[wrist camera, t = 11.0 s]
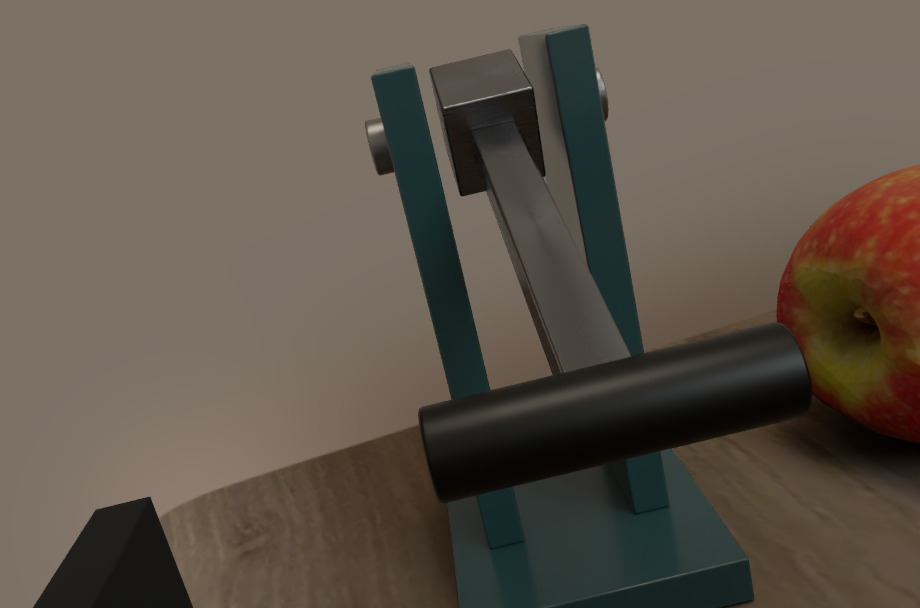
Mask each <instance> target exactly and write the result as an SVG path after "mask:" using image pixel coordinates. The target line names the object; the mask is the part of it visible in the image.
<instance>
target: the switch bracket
mask: <svg viewBox="0 0 920 608" xmlns="http://www.w3.org/2000/svg"><path fill="white" fill-rule="evenodd" d="M518 40H519V45H520V51H521V55H522V61H523V66H524V71H525V75H526V76H527V78H528V80H529V81H530V83H531V85H532V86H533V88H534V95H535V102H536V109H537V116H538V123H539V130H540V137H541V144H542V151H543V158H544V165H545V172H546V175H545V178H546V183H547V187H548V189H549V191H550V193H551V195H552V197H553V199H554V201H555V203H556V205H557V207H558V209H559V211H560V213H561V215H562V217H563V219H564V221H565V223H566V225H567V227H568V229H569V231H570V233H571V235H572V237H573V239H574V241H575V243H576V245H577V247H578V249H579V251H580V253H581V255H582V257H583V259H584V261H585V263H586V265H587V267H588V269H589V271H590V273H591V275H592V277H593V279H594V281H595V283H596V285H597V287H598V289H599V291H600V293H601V295H602V297H603V299H604V301H605V303H606V305H607V307H608V309H609V312H610V314H611V316H612V318H613V320H614V322H615V324H616V326H617V328H618V330H619V332H620V334H621V336H622V338H623V340H624V342H625V344H626V346H627V348H628V350H629V352H630V354H631V356H635V355H639V354H643V353H644V350H643V344H642V338H641V332H640V327H639V321H638V315H637V309H636V303H635V297H634V291H633V285H632V280H631V274H630V268H629V262H628V256H627V250H626V244H625V238H624V233H623V227H622V221H621V215H620V209H619V203H618V197H617V192H616V186H615V180H614V174H613V168H612V162H611V156H610V150H609V145H608V139H607V133H606V127H605V121H606V120H607V117H608V98H607V92H606V88H605V84H604V81H603V78H602V75H601V73H600V71H599V70H598V68H597V67H595V63H594V57H593V51H592V45H591V39H590V34H589V27H588V26H587V25H586V24H583V25H574V26H567V27H558V28H550V29H546V30H542V31H538V32H534V33H529V34H525V35H521V36H519V38H518ZM371 80H372V84H373V88H374V92H375V96H376V100H377V103H378V107H379V112H380V115H381V118H377V119H373V120H368V121H366V122H365V129H366V134H367V138H368V143H369V147H370V151H371V155H372V158H373V162H374V165H375V169H376V171H377V174H378V175H384V174H388V173H393V172H395V175H396V179H397V183H398V187H399V191H400V195H401V199H402V203H403V207H404V211H405V215H406V219H407V223H408V227H409V231H410V235H411V239H412V243H413V247H414V251H415V255H416V259H417V263H418V267H419V271H420V275H421V279H422V283H423V287H424V291H425V295H426V299H427V303H428V307H429V311H430V315H431V318H432V323H433V327H434V331H435V335H436V338H437V342H438V347H439V350H440V355H441V359H442V363H443V366H444V371H445V375H446V379H447V383H448V386H449V391H450V394H451V399H457V398H461V397H465V396H469V395H473V394H477V393H481V392H486V391H490V387H489V383H488V379H487V374H486V370H485V366H484V362H483V357H482V353H481V349H480V344H479V341H478V336H477V332H476V328H475V323H474V319H473V315H472V310H471V306H470V302H469V298H468V293H467V289H466V285H465V281H464V276H463V272H462V268H461V263H460V259H459V255H458V251H457V246H456V242H455V238H454V234H453V229H452V225H451V221H450V217H449V213H448V208H447V204H446V200H445V195H444V191H443V187H442V182H441V178H440V174H439V170H438V166H437V161H436V157H435V153H434V148H433V144H432V140H431V136H430V131H429V127H428V123H427V119H426V114H425V110H424V106H423V101H422V97H421V93H420V89H419V85H418V81H417V76H416V72H415V68H414V67H413V65H411V64H410V63H404V64H399V65H396V66H391V67H387V68H383V69H378V70H376V71H375V72H374V74H373V75H372V77H371ZM447 508H448V517H449V525H450V534H451V542H452V551H453V560H454V568H455V577H456V585H457V594H458V603H459V608H722V607H726V606H730V605H734V604H738V603H743V602H747V601H751V600H753V599H754V593H753V586H752V579H751V572H750V565H749V559H748V558H747V556H746V555H745V553H744V552H743V550H742V549H741V548H740V546H739V545H738V543H737V542H736V540H735V539H734V537H733V536H732V535H731V533H730V532H729V530H728V529H727V527H726V526H725V524H724V523H723V522H722V520H721V519H720V517H719V516H718V514H717V513H716V511H715V510H714V509H713V507H712V506H711V504H710V503H709V501H708V500H707V498H706V497H705V496H704V494H703V493H702V491H701V490H700V488H699V487H698V486H697V484H696V483H695V481H694V480H693V478H692V477H691V475H690V474H689V473H688V471H687V470H686V468H685V467H684V465H683V464H682V462H681V461H680V460H679V458H678V457H677V455H676V454H675V452H674V451H673V449H672V448H671V449H667V450H663V451H659V452H655V453H650V454H646V455H642V456H638V457H634V458H630V459H626V460H621V461H617V462H613V463H609V464H605V465H601V466H597V467H593V468H588V469H584V470H580V471H576V472H572V473H568V474H564V475H559V476H555V477H551V478H547V479H543V480H539V481H535V482H530V483H526V484H522V485H518V486H514V487H510V488H506V489H501V490H497V491H493V492H489V493H485V494H481V495H477V496H472V497H468V498H464V499H460V500H456V501H452V502H448V503H447Z"/></svg>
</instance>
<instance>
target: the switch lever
mask: <svg viewBox="0 0 920 608" xmlns="http://www.w3.org/2000/svg"><path fill="white" fill-rule="evenodd" d="M429 73H430V78H431V82H432V86H433V91H434V96H435V100H436V105H437V110H438V113H439V118H440V123H441V128H442V132H443V137H444V141H445V146H446V150H447V154H448V157H449V160H450V163H451V167H452V170H453V173H454V177H455V180H456V183H457V186H458V190H459V193H460V195H461V196H466V195H470V194H474V193H478V192H483V191H486V192H487V195H488V197H489V200H490V203H491V206H492V208H493V211H494V214H495V217H496V219H497V222H498V225H499V228H500V231H501V233H502V236H503V239H504V241H505V244H506V247H507V250H508V253H509V255H510V258H511V261H512V264H513V266H514V269H515V272H516V274H517V277H518V280H519V283H520V286H521V288H522V291H523V294H524V296H525V299H526V302H527V305H528V308H529V310H530V313H531V316H532V318H533V322H534V324H535V327H536V330H537V332H538V335H539V338H540V341H541V343H542V346H543V349H544V352H545V355H546V357H547V360H548V363H549V366H550V368H551V371H552V374H553V375H552V376H548V377H544V378H540V379H536V380H532V381H527V382H523V383H519V384H515V385H511V386H506V387H503V388H498V389H494V390H490V391H486V392H481V393H477V394H473V395H469V396H465V397H461V398H457V399H452V400H449V401H444V402H440V403H436V404H432V405H427V406H423V407H421V408H420V409H419V412H418V418H419V426H420V432H421V437H422V442H423V447H424V452H425V456H426V461H427V465H428V469H429V473H430V477H431V480H432V484H433V487H434V491H435V493H436V496H437V498H438V500H439V501H440V503H448V502H452V501H456V500H460V499H464V498H468V497H472V496H477V495H481V494H485V493H489V492H493V491H497V490H501V489H506V488H510V487H514V486H518V485H522V484H526V483H530V482H535V481H539V480H543V479H547V478H551V477H555V476H559V475H564V474H568V473H572V472H576V471H580V470H584V469H588V468H593V467H597V466H601V465H605V464H609V463H613V462H617V461H621V460H626V459H630V458H634V457H638V456H642V455H646V454H650V453H655V452H659V451H663V450H667V449H671V448H675V447H679V446H684V445H688V444H692V443H696V442H700V441H704V440H708V439H713V438H717V437H721V436H725V435H729V434H733V433H737V432H742V431H746V430H750V429H754V428H758V427H762V426H766V425H771V424H775V423H779V422H783V421H787V420H791V419H795V418H800V417H803V416H805V415H806V414H807V413H808V412H809V410H810V408H811V404H812V384H811V378H810V373H809V369H808V366H807V362H806V359H805V357H804V354H803V352H802V350H801V347H800V345H799V344H798V342H797V340H796V338H795V337H794V335H793V334H792V332H791V331H790V330H789V329H788V328H787V327H786V326H785V325H783V324H781V323H777V322H772V323H768V324H764V325H760V326H756V327H751V328H747V329H743V330H739V331H735V332H731V333H726V334H722V335H718V336H714V337H710V338H706V339H702V340H697V341H693V342H689V343H685V344H681V345H677V346H672V347H668V348H664V349H660V350H656V351H652V352H648V353H643V354H639V355H635V356H631V354H630V352H629V350H628V348H627V346H626V344H625V342H624V340H623V338H622V336H621V334H620V332H619V330H618V328H617V326H616V324H615V322H614V320H613V318H612V316H611V314H610V312H609V309H608V307H607V305H606V303H605V301H604V299H603V297H602V295H601V293H600V291H599V289H598V287H597V285H596V283H595V281H594V279H593V277H592V275H591V273H590V271H589V269H588V267H587V265H586V263H585V261H584V259H583V257H582V255H581V253H580V251H579V249H578V247H577V245H576V243H575V241H574V239H573V237H572V235H571V233H570V231H569V229H568V227H567V225H566V223H565V221H564V219H563V217H562V215H561V213H560V211H559V209H558V207H557V205H556V203H555V201H554V199H553V197H552V195H551V193H550V191H549V189H548V187H547V185H546V183H545V181H544V179H543V177H545V175H546V172H545V165H544V158H543V151H542V144H541V137H540V130H539V123H538V116H537V109H536V102H535V95H534V88H533V86H532V85H531V83H530V81H529V80H528V78H527V76H526V75H525V73H524V71H523V70H522V68H521V66H520V64H519V63H518V61H517V59H516V58H515V56H514V54H513V53H512V51H511V50H509V49H508V50H504V51H500V52H496V53H492V54H487V55H483V56H479V57H475V58H471V59H466V60H462V61H458V62H454V63H449V64H445V65H442V66H437V67H433V68H430V69H429Z"/></svg>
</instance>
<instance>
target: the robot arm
mask: <svg viewBox="0 0 920 608" xmlns="http://www.w3.org/2000/svg"><path fill="white" fill-rule="evenodd" d="M33 608H193V606H192V604H191V601H190V598H189V596H188V593H187V591H186V588H185V586H184V583H183V580H182V578H181V575H180V573H179V570H178V567H177V565H176V562H175V560H174V557H173V555H172V552H171V549H170V547H169V544H168V542H167V539H166V536H165V534H164V531H163V529H162V526H161V524H160V521H159V518H158V516H157V514H156V511H155V508H154V505H153V503H152V500H151V498H150V497H147V498H142V499H138V500H134V501H130V502H126V503H122V504H118V505H114V506H110V507H105V508H102V509H97V510H95V512H94V513H93V515H92V517H91V518H90V520H89V521H88V523H87V524H86V526H85V527H84V529H83V531H82V532H81V534H80V535H79V537H78V538H77V540H76V542H75V543H74V545H73V546H72V548H71V549H70V551H69V553H68V554H67V555H66V557H65V559H64V560H63V562H62V563H61V565H60V567H59V568H58V570H57V571H56V573H55V574H54V576H53V577H52V579H51V581H50V582H49V583H48V585H47V587H46V588H45V590H44V591H43V593H42V594H41V596H40V598H39V599H38V601H37V602H36V604H35V605H34V607H33Z"/></svg>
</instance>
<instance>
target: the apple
mask: <svg viewBox="0 0 920 608" xmlns="http://www.w3.org/2000/svg"><path fill="white" fill-rule="evenodd" d="M777 323H781V324H783V325H785V326H786V327H787V328H788V329H789V330H790V331H791V332H792V334H793V335H794V337H795V338H796V340H797V342H798V344H799V345H800V347H801V350H802V352H803V354H804V357H805V359H806V362H807V366H808V369H809V373H810V378H811V384H812V394H813V395H814V396H816V397H817V398H818V399H819V400H820V401H821V402H823V403H824V404H826V405H828V406H830V407H832V408H834V409H836V410H838V411H840V412H842V414H843V415H845V416H847V417H849V418H851V419H853V420H855V421H856V422H858V423H860V424H862V425H864V426H865V427H867V428H869V429H871V430H873V431H875V432H877V433H880V434H883V435H886V436H889V437H893V438H896V439H901V440H906V441H911V442H916V443H920V165H915V166H912V167H909V168H905V169H902V170H899V171H895V172H892V173H889V174H887V175H884V176H882V177H880V178H878V179H876V180H873V181H871V182H869V183H867V184H865V185H864V186H862V187H860V188H858V189H856V190H854V191H853V192H851V193H849V194H848V195H846V196H845V197H843V198H842V199H840V200H839V201H837V202H835V203H834V204H833V205H831V206H830V207H829V208H828V209H827V210H826V211H824V212H823V213H822V214H821V215H820V216H819V217H818V219H817V220H816V221H815V222H814V223H813V224H812V225H811V226H810V228H809V229H808V230H807V231H806V233H805V234H804V235H803V237H802V238H801V239H800V240H799V242H798V243H797V245H796V247H795V249H794V251H793V253H792V255H791V258H790V260H789V262H788V264H787V266H786V268H785V271H784V273H783V275H782V278H781V281H780V286H779V293H778V301H777Z"/></svg>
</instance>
